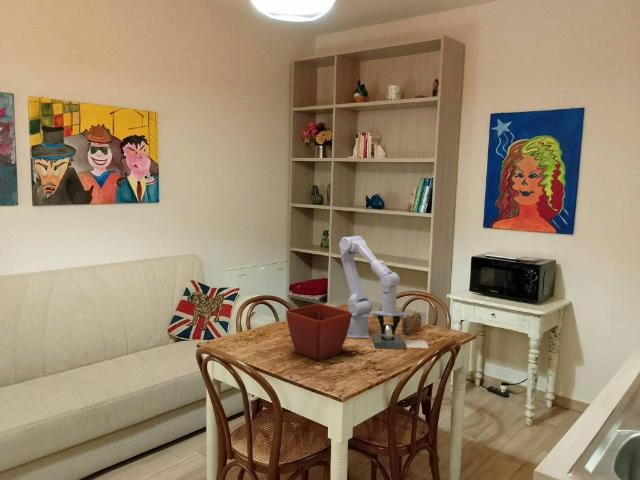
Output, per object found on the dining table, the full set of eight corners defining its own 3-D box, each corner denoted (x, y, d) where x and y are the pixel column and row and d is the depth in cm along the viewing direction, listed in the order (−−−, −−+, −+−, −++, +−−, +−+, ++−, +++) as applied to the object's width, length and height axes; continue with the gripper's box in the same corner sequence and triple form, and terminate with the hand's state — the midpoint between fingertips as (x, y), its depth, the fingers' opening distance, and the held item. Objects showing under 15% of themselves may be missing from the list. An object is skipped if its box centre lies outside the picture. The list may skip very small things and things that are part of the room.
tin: (406, 336, 227) (407, 318, 226) (400, 335, 229) (400, 316, 228) (421, 329, 239) (422, 311, 238) (415, 327, 241) (416, 310, 240)
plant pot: (352, 353, 203) (353, 312, 201) (318, 365, 190) (319, 321, 188) (318, 342, 217) (319, 303, 215) (284, 352, 203) (284, 310, 201)
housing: (374, 348, 210) (374, 342, 210) (371, 339, 222) (372, 333, 222) (404, 349, 210) (404, 343, 210) (399, 339, 222) (399, 334, 222)
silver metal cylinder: (383, 345, 214) (384, 325, 213) (382, 342, 218) (382, 323, 217) (393, 345, 214) (393, 325, 213) (391, 342, 218) (392, 323, 217)
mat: (407, 348, 212) (407, 347, 212) (403, 341, 221) (403, 340, 221) (429, 348, 212) (429, 347, 212) (424, 341, 221) (424, 340, 221)
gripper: (372, 303, 210) (371, 336, 212) (408, 304, 210) (406, 337, 212) (371, 299, 217) (369, 331, 219) (405, 300, 217) (404, 331, 219)
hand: (387, 333), depth 216 cm, fingers closed on silver metal cylinder, 4 cm apart
